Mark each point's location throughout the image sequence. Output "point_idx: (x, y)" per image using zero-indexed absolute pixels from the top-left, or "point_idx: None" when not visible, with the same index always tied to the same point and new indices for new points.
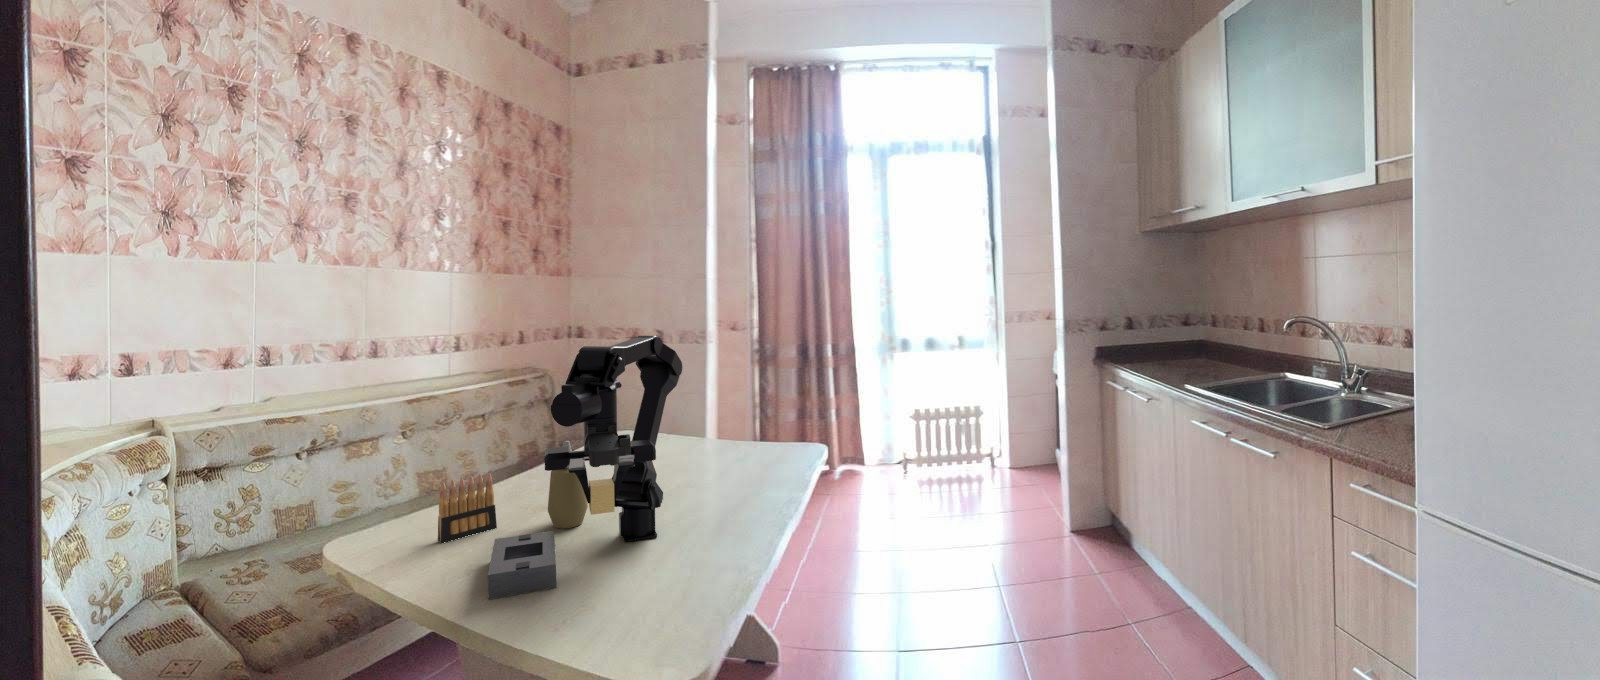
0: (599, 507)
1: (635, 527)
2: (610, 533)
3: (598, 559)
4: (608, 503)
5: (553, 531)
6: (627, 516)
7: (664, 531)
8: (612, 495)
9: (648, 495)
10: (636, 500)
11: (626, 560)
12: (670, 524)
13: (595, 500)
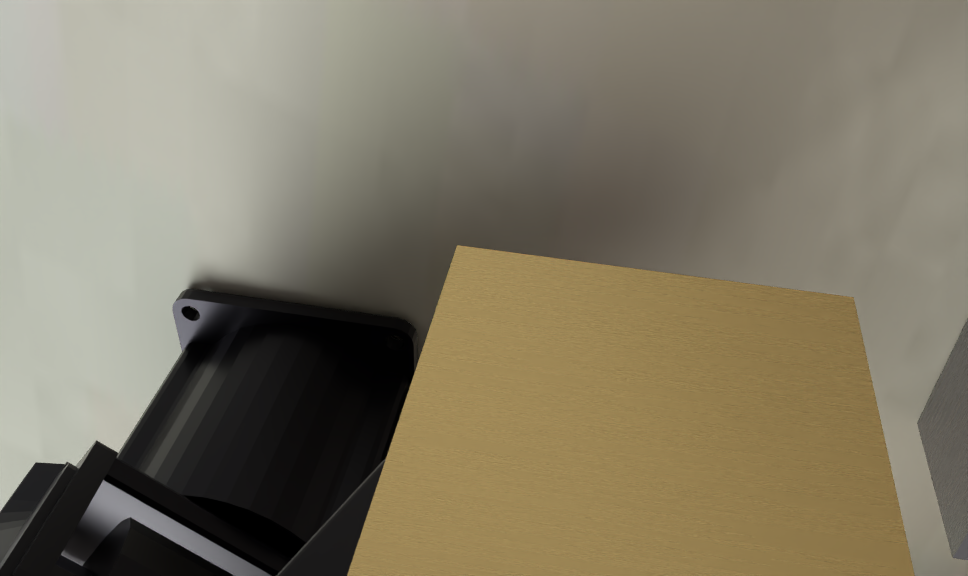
0: (707, 352)
1: (303, 390)
2: None
3: (663, 139)
4: (533, 368)
5: (962, 548)
6: (336, 493)
7: (134, 356)
8: (422, 473)
9: (31, 554)
10: (187, 558)
11: (447, 3)
12: (99, 428)
13: (792, 480)
